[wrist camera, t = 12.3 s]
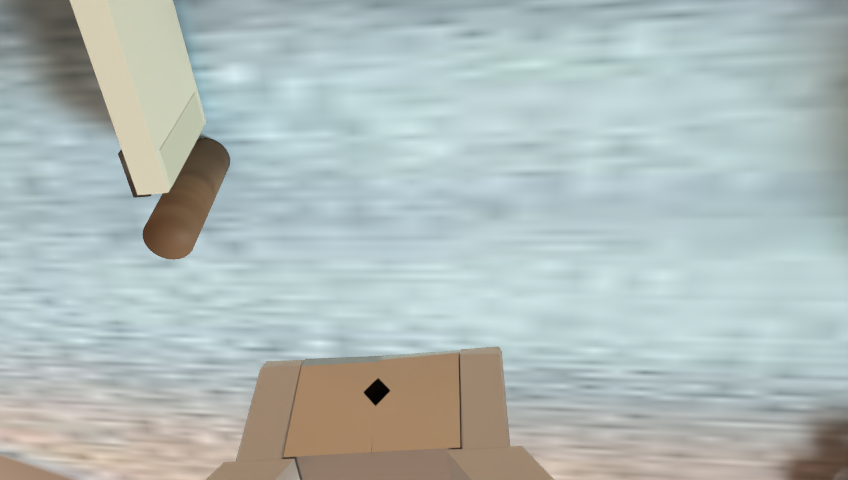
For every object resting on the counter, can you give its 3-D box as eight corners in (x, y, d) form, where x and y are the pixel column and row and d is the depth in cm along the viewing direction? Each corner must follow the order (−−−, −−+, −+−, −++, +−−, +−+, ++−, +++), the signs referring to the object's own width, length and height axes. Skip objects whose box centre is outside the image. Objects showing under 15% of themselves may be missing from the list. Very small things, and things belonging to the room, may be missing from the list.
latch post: (154, 101, 36) (103, 175, 30) (213, 96, 36) (172, 170, 30) (178, 179, 38) (135, 262, 33) (234, 175, 38) (199, 257, 32)
